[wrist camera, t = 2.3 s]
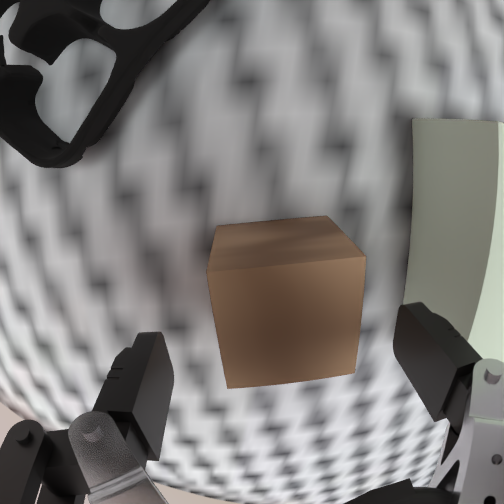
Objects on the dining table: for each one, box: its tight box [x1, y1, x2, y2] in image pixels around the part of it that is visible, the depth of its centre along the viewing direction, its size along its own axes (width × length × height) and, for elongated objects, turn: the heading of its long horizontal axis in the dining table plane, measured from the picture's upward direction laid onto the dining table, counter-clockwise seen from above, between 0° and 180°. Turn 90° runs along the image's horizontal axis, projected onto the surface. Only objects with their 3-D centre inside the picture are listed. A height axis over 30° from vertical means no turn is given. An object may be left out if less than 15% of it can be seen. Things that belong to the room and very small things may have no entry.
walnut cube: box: [206, 216, 366, 389], centre depth 13 cm, size 5×5×5 cm
